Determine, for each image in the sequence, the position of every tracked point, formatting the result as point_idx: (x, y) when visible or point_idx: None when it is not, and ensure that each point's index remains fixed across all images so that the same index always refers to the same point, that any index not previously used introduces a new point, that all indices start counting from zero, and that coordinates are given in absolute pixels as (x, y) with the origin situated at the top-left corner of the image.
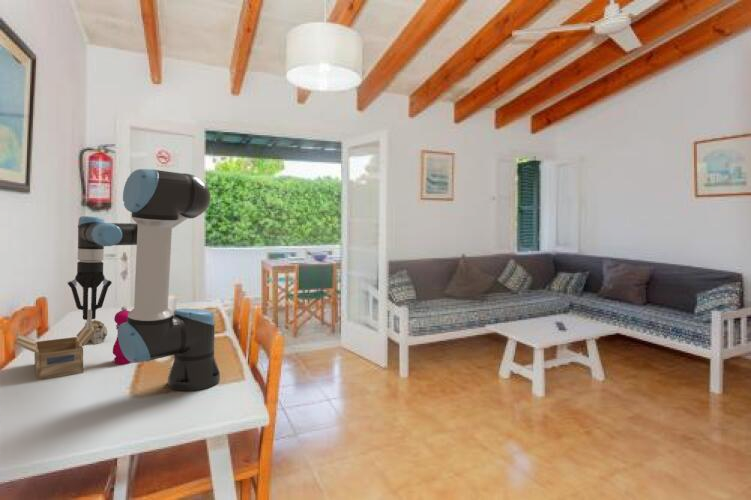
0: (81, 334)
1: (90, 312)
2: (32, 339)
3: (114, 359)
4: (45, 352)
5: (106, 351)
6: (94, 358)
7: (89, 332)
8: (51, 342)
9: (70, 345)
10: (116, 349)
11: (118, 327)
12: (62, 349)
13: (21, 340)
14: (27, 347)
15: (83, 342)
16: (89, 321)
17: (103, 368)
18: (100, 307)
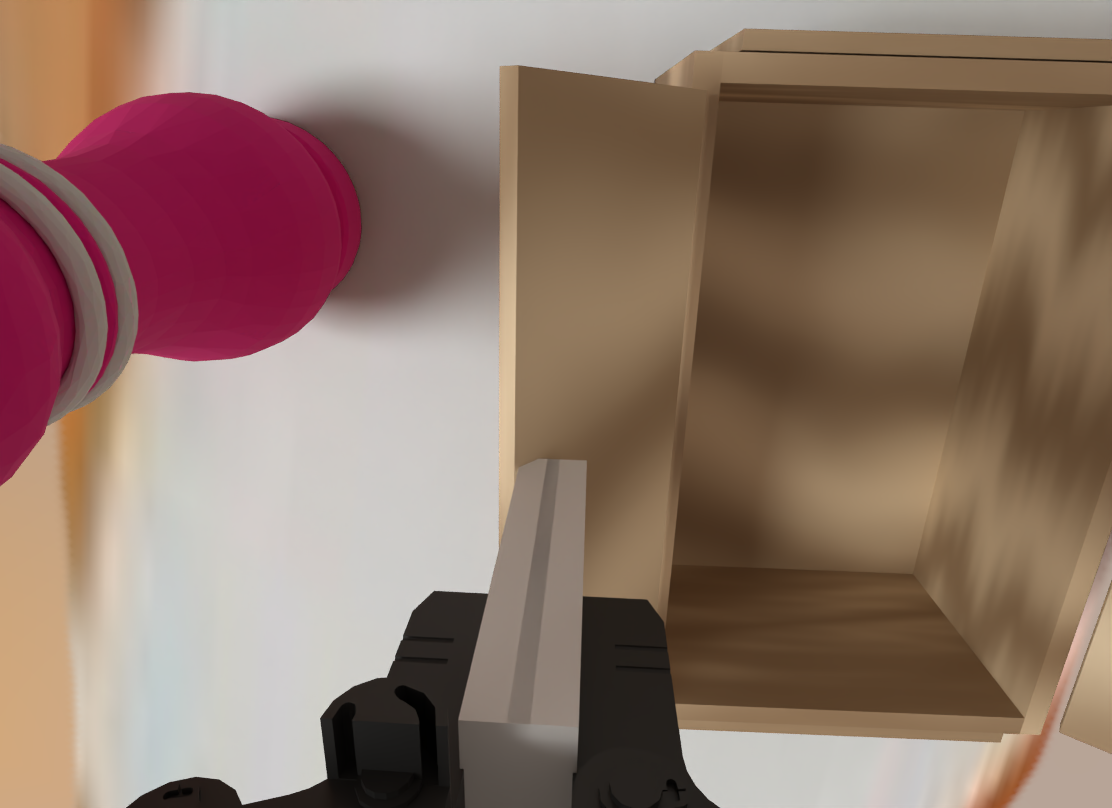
0: (624, 596)
1: (507, 685)
2: (1093, 740)
3: (349, 218)
4: (888, 626)
5: (386, 641)
6: (498, 494)
7: (568, 354)
8: (876, 692)
9: (689, 643)
10: (285, 157)
11: (71, 226)
12: (752, 626)
13: None
14: None
15: (676, 175)
16: (546, 535)
17: (473, 103)
18: (181, 789)
